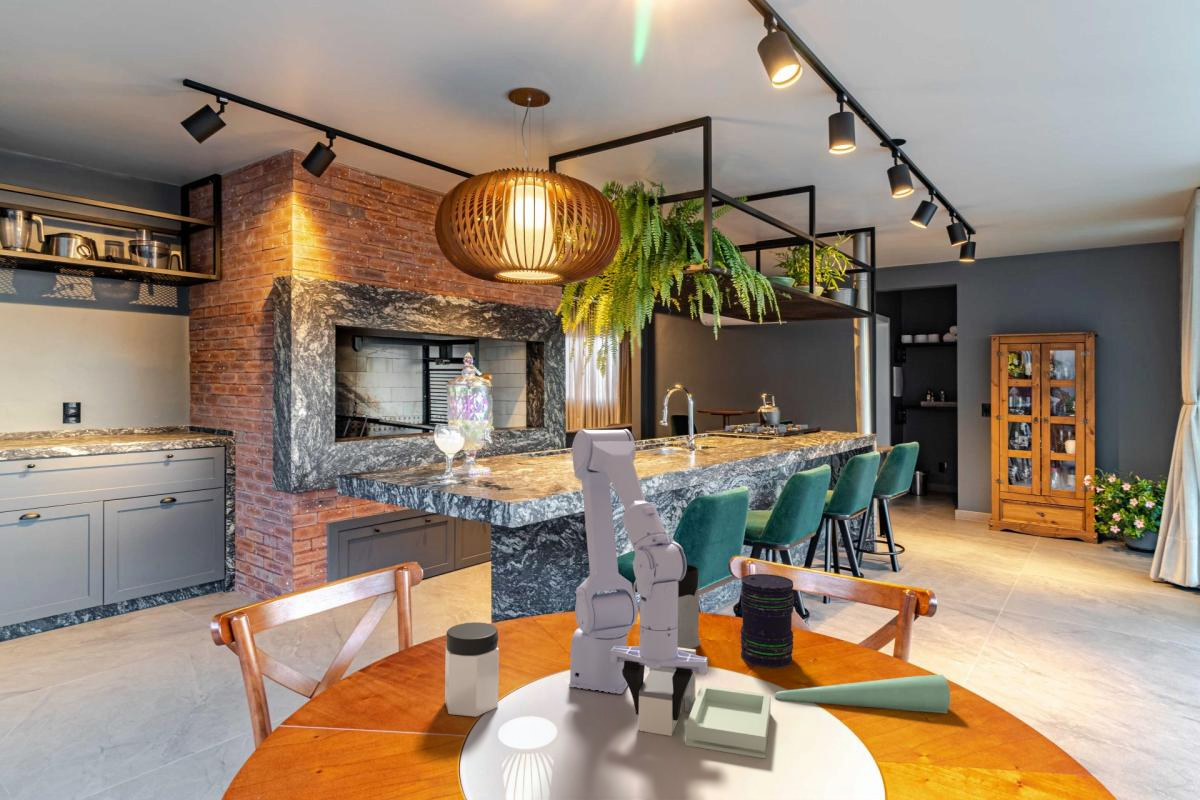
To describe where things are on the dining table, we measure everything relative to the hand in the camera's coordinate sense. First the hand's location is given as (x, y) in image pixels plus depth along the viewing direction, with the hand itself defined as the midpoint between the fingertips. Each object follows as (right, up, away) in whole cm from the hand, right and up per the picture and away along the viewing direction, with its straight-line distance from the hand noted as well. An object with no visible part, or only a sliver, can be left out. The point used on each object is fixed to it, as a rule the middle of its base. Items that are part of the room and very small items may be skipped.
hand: (657, 714), depth 101 cm
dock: (+3, -2, +9) cm, 9 cm away
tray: (+11, -2, 0) cm, 11 cm away
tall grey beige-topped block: (+1, -2, +2) cm, 3 cm away
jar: (-29, -2, +7) cm, 30 cm away
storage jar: (+23, -3, +28) cm, 36 cm away
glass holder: (+5, -2, +36) cm, 36 cm away
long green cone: (+34, -3, +9) cm, 35 cm away
